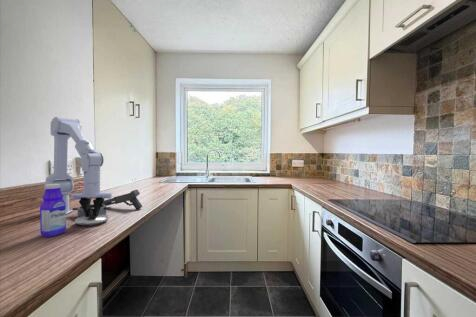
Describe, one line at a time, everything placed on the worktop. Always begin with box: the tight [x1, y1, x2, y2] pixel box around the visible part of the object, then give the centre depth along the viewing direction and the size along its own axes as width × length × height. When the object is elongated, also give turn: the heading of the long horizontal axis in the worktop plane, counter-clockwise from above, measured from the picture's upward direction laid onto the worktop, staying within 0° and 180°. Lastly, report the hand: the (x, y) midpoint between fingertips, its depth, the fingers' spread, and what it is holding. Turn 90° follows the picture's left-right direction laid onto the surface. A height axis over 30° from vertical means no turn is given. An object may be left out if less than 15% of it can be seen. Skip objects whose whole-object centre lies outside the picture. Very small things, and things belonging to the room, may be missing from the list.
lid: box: [74, 208, 109, 227], centre depth 98 cm, size 12×12×6 cm
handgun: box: [102, 189, 144, 211], centre depth 124 cm, size 4×24×10 cm, turn 80°
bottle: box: [39, 184, 67, 238], centre depth 84 cm, size 7×6×17 cm
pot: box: [71, 203, 112, 218], centre depth 109 cm, size 15×11×4 cm
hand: (92, 216), depth 98 cm, fingers closed on lid, 3 cm apart
